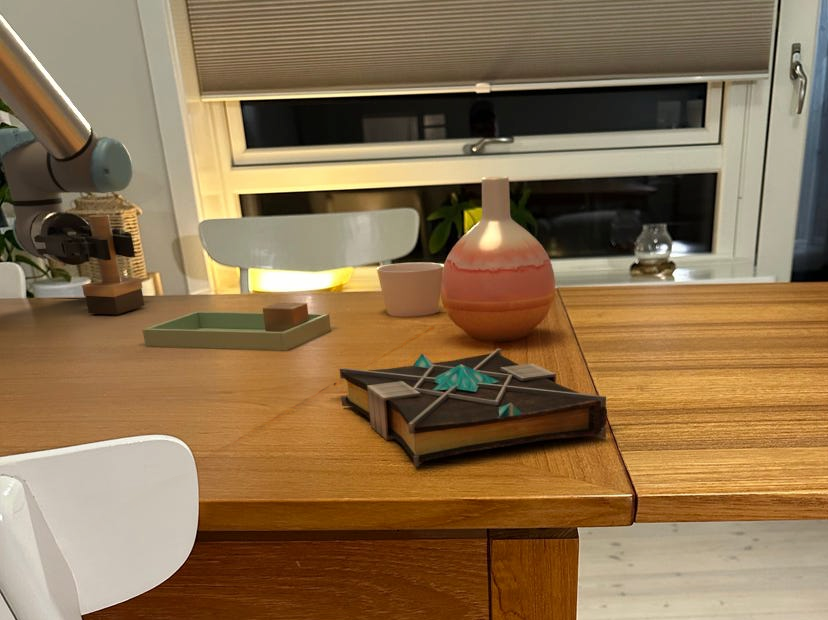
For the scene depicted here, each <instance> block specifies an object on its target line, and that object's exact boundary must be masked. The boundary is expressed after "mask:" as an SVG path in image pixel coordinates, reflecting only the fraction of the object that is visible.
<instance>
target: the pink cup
mask: <svg viewBox="0 0 828 620" xmlns="http://www.w3.org/2000/svg"><path fill="white" fill-rule="evenodd" d="M443 267H444V264H442V263H435V262H401V263H392V264H386V265H381V266H378V267H377V268H376V273H377V277H378V281H379V285H380V289H381V293H382V297H383V301H384V306H385V310H386V313H387V314H388V315H389V316H393V317H403V318H404V317H407V318H408V317H422V316H429V315H434V314H437V313H439V308H440V301H441V276H442V271H443Z"/></svg>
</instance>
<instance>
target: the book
mask: <svg viewBox="0 0 828 620" xmlns="http://www.w3.org/2000/svg"><path fill="white" fill-rule="evenodd" d="M501 349H502V348H496V349H495V350H494V351H493V352H491V353H490V352H489V353H485V354H480V355H474V356H469V357H463V358H459V359H458V358H457V359H452V360H446V361H445V360H444V361H438V362H432V361H431V360H430V359H429V358H428V357H427V356H426V355H425V354H424V353H420V355H419V357H418V358H417V360H415V362H414V363H413V365H405V366H398V367H390V368H381V369H368V370H365V369H357V368H346V367H341V368H339V376H340V379H342V380H343V379H344V380H345V381H346V383H347V393H348V394H347V395H341V397H340V399H341V406H342V407H349V408H352V409H354V410H356V411H357V412H359V413H360V414H362V415H363V416H365V417H366V418H368V419H369V423H370V425H369V426H370V427H371V428H372V429H373V430H374V431H375V432H377V433H378V434H379V435H380V436H381V437H382V438H383V439H384V440H386V441H389V440H396V441H397V442H399V443H400V444H401V445H402V447H403V448H404V449H405V451H406V453H408V455H409V456H410V458H411V459H412V460H413V467H417V468H419V467H420V466H421V465H422V464H423V462H426V461H430V460H435V459H439V458H445V457H450V456H455V455H459V454H460V455H461V454H464V453H470V452H475V451H476V452H477V451H482V450H483V451H484V450H489V449H495V448H496V449H497V448H502V447H507V446H515V445H521V444H528V443H533V442H534V443H535V442H541V441H550V440H558V439H559V440H560V439H568V438H578V437H591V438H600V439H606V438H607V427H606V425H607V423H608V409H607V396H606V395H598V394H590V393H581V392H578V391H576V390H574V389H571V388H568V387H566V386H564V385H561V384H559V383H557V373H555V372H553V371H551V370H549V369H546V368H544V367H542V366H539V365H537V364H536V363H532V362H531V363H526V364H525V363H524V364H519V363H516V362H514V360H513V361H512V360H511V359H509V358H507V357H505V356H504V355H502V350H501Z"/></svg>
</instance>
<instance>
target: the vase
mask: <svg viewBox="0 0 828 620" xmlns="http://www.w3.org/2000/svg"><path fill="white" fill-rule="evenodd" d="M555 296H556V277H555V272H554V268H553V264H552V262H551V258H550V257H549V255H548V253H547V251H546V250H545V248H544V246H543V245H542V244H541V243H540V241H538V239H537V238H536V237H535V236H533V235H532V234H531V233H530V232H529V231H528V230H526V229H525V228H524V227H523V226H521V225H520V224H519V223H517V221H515V220H514V219H513V218H512V217H511V199H510V179H509V177H508V176H488V177H482V179H481V219H480V220H479V221H478V222H477V223H476V224H474V225H473V226H472V227H471V228H470V229H469V230H468V231H467V232H466V233H464V235H462V236H461V237H460V239H459V240H457V242H456V243H455V244H454V246H452V248H451V250H450V251H449V253H448V255H447V257H446V259H445V262H444V264H443V271H442V276H441V293H440V299H441V302H442V305H443V308H444V311H445V313H446V314H447V316H448V317H449V318H450V320H451V321H452V322H453V324H455V326H457V327H458V328H460V329H461V330H462V331H463V332H464V333H465V334H466V335H467V336H468V337H469V338H470V339H472V340H474V341H477V342H484V343H508V342H514V341H519V340H522V339H524V338H526V337H528V336H529V335H530V334H531V333H532V331H533V330H534V329H535V328H537V327H538V326H539V325H540V324H541V323H542V322H543V321H544V320H545V318H546V317H547V316H548V314H549V312H550V310H551V308H552V307H553V304H554V301H555Z"/></svg>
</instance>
